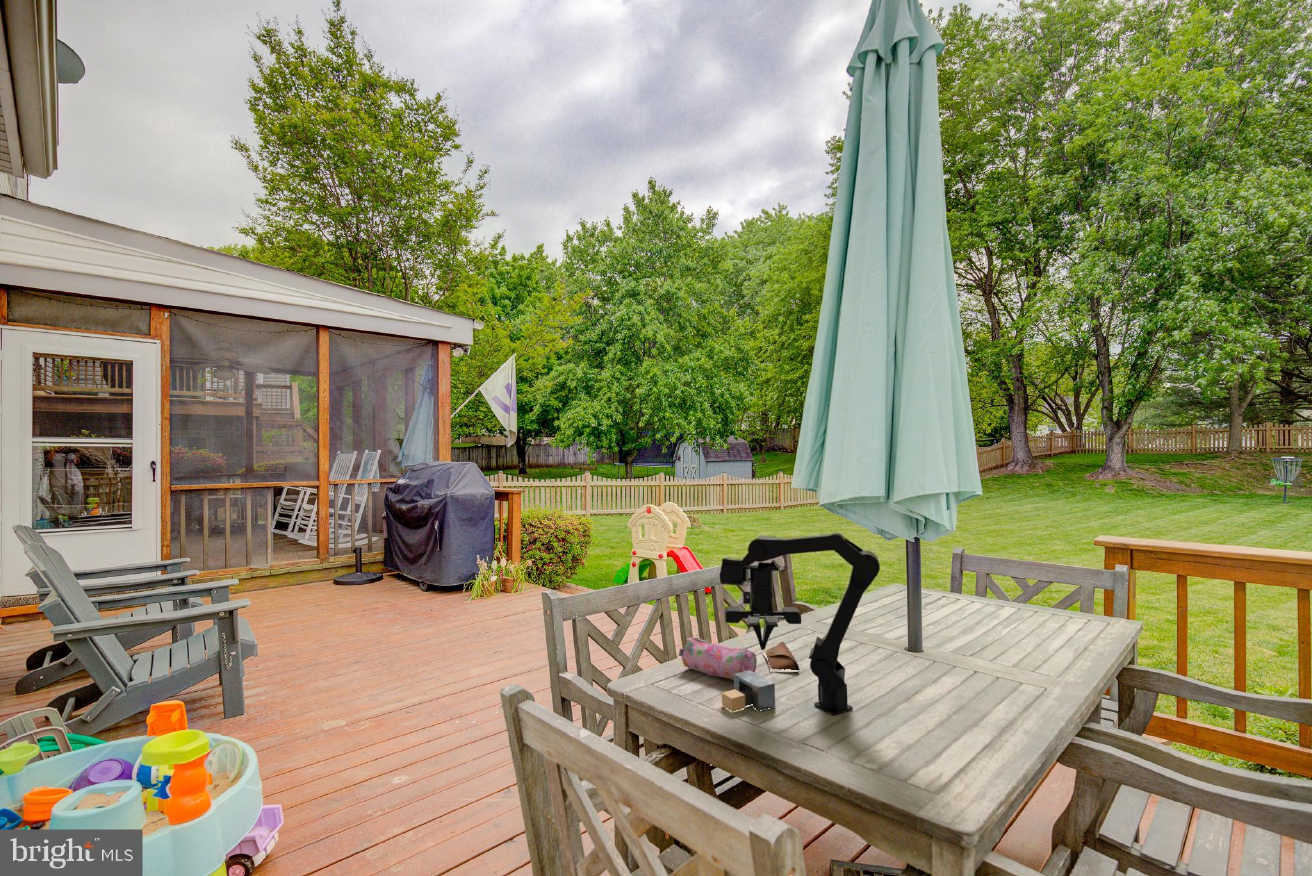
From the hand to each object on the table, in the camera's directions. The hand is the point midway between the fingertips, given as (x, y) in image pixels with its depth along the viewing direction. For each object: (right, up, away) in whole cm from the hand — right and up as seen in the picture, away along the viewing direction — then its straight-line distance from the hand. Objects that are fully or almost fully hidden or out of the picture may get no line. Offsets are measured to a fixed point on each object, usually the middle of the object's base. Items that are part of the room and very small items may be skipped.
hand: (762, 649), depth 140 cm
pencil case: (-10, -14, +16) cm, 23 cm away
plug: (-4, -12, -3) cm, 13 cm away
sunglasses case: (+10, -14, +25) cm, 30 cm away
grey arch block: (-3, -12, -2) cm, 13 cm away
